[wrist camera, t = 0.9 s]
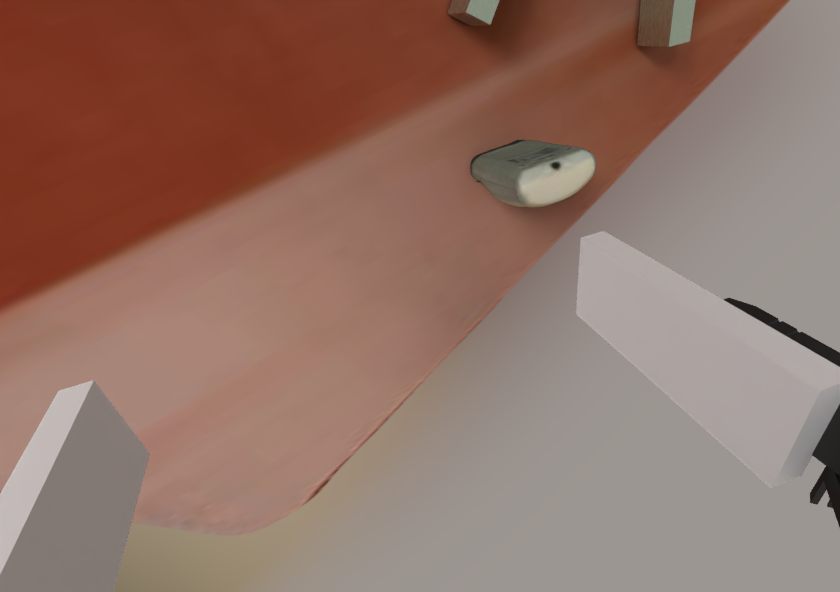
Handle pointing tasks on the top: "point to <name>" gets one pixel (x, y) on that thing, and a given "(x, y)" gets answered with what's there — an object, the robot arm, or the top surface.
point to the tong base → (665, 22)
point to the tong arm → (473, 11)
